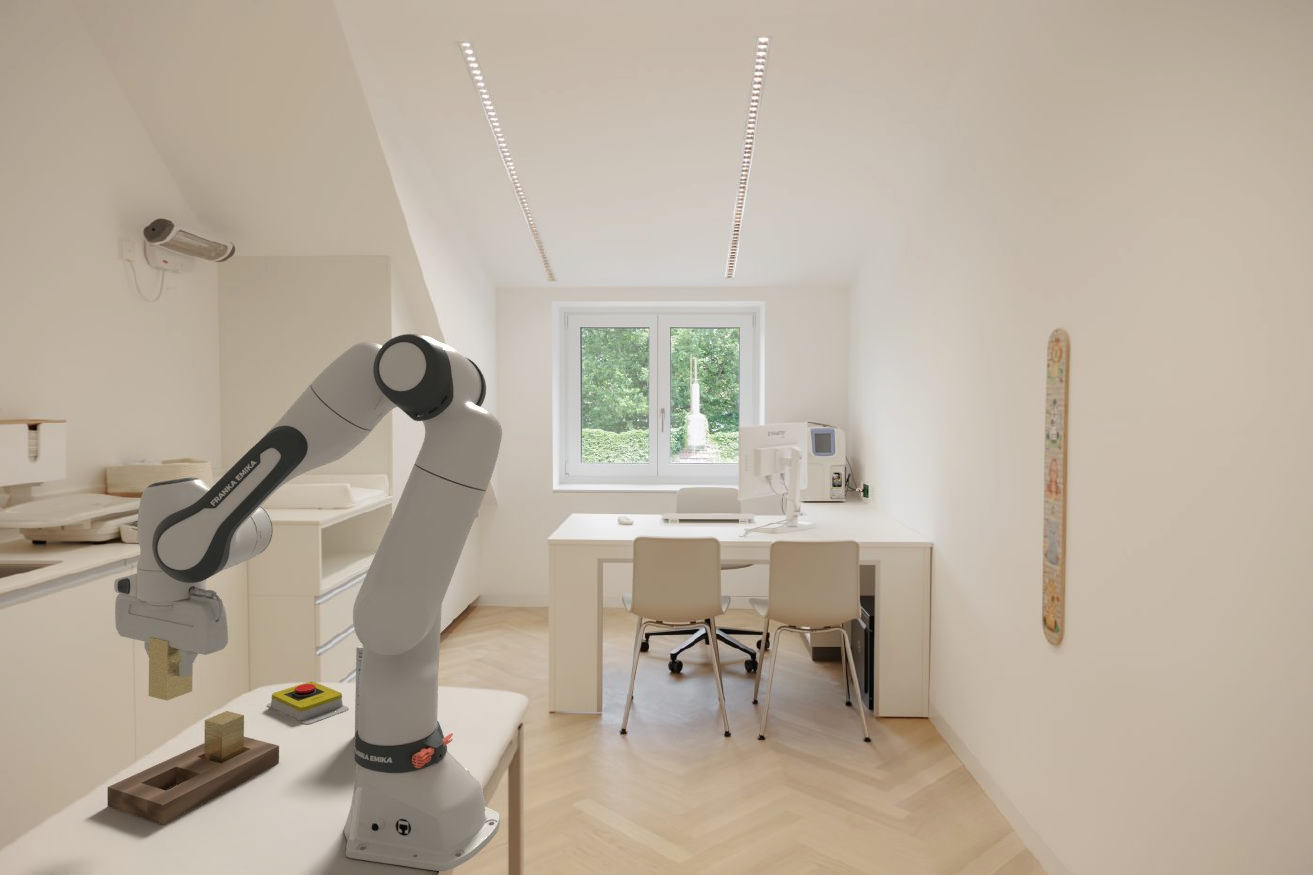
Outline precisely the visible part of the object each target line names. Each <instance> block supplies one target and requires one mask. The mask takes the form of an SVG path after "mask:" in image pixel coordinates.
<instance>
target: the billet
mask: <svg viewBox="0 0 1313 875" xmlns="http://www.w3.org/2000/svg"><path fill="white" fill-rule="evenodd" d="M181 658H182V656H180V655H179V649H176V648H172V647H170V646H169V641H166V640H161V639H156V638H152V637H150V638H149V657H148V697H151V698H154V699H155V698H156V699H158V700H162V701H169V700H172V699H175V698H178V697H181V696H183V695H186V694H189V693H192V692H193V673H194V672H193V670H192V674H191V675H189V676H186V677H180V676H176V675H175V665H177V664H179V663H180V660H181Z"/></svg>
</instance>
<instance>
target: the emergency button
mask: <svg viewBox="0 0 1313 875" xmlns="http://www.w3.org/2000/svg"><path fill="white" fill-rule="evenodd" d="M270 701H271V702H269V703H267V705H266V706H267V708H269V709H271V710H273V711H275V712H278V713H280V714H282V715H284V716H286V717H288V718H290V719H293V720H295V721H296V722H299V723H301V724H303V725H313V724H315V723H317V722H320V721H323V720H326V719H329V718H332V717H334V716H337V715H339V713H340V714H342V713H344V712H343V711H345V712H347V711H349V707H348V706H346V705H344V704H343V694H342V693H341V692H339V691H338V690H335V689H333V688H331V687H328V686H325V685H324V684H323V685H322V684H320V683H318V682H316V681H308V682H304V683H301V684H297V685H294V686H291V687H288V688H285V689H282V690H278V691H276V692H273V693H272V694H271V700H270ZM346 710H347V711H346ZM335 711H336V712H335ZM341 712H342V713H341ZM336 714H337V715H336ZM333 715H334V716H333ZM331 716H332V717H331Z"/></svg>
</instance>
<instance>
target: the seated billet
mask: <svg viewBox="0 0 1313 875" xmlns="http://www.w3.org/2000/svg"><path fill="white" fill-rule="evenodd" d="M244 734H245V714H241V713H237V712H233V711H230V710H229V711H228V710H226V711H223V712H220V713H218V714H216V715H213V716H211V717H209V718H207V719H204V740H203V741H204V742H203V743H204V759H206V760H210V761H214V762H217V763H223V762H225V761H227V760H229V759H231V758H233V757H236V756H238V755H240V754H242V753H244V737H245V735H244Z"/></svg>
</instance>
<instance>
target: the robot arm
mask: <svg viewBox="0 0 1313 875" xmlns="http://www.w3.org/2000/svg"><path fill="white" fill-rule="evenodd" d="M486 394H487V384H486V379H485V376H484V374H483V372H482V371H481V369H480V367H479V366H478V365H477V364H476V363H475V362H474V361H473V360H471V359H470V358H469V357H466V356H464V355H463V354H461V353H460V352H459V351H458V350H457V349H456V348H454V347H452V346H451V345H449V344H446V343H443V342H441V341H438V340H436V339H435V338H432V337H431V336H428V335H423V334H417V333H406V334H400V335H397V336H395V337H393V338H391V339H389V340H388V341H386V342H385V343H384V344H383V345H382V344H379V343H377V342H372V341H361V342H357V343H356V344H354V345H352V346H351V347H349V349H347V350H345V351H344V352H343V353H342V354H340V355H339V356H338V357H336V358H335V359H334V360H333V361H332V362H330V364H329V365H327V367H326V368H324V369H323V370H322V371H321V372H320V373H319V374H318V375H317V376H316V378H314V380H313V381H312V382H311V383H310V384H309V385H308V387H306V389H305V390H304V391H303V392H302V393H301V395H299V397H298V398H297V399H296V400H295V401H294V403H293V404H292V405H291V406H290V407H289V409H288V410H287V411H285V413H284V414H283V416H281V418H280V419H279V420H278V421H277V422H276V423H274V425H273V426H272V427H271V428H270V429H269V430H268V431H267V432H266V433H265V434H264V435H263V437H262V438H261V439H259V441H258V442H257V443H256V444H255V445H253V446H252V447H251V448H250V449H249V450H248V451H247V452H246V453H245V454H244V455H243V456H242V457H241V458H240V459H239V460H238V461H236V463H235V464H234V465H233V466H232V467H231V468H230V469H229V470H228V471H227V472H226V473H225V474H224V475H223V476H221V478H220V479H219V480H218V481H217V482H216V483H214V485H213V486H211V487H210V486H209V485H208V484H207V483H206V482H205V481H204V480H203V479H201V478H199V477H184V478H177V479H172V480H164V481H158V482H153V483H151V484H149V485H148V486H146V487H145V488H144V490H143V492H142V494H141V497H140V501H139V506H138V511H137V512H138V513H137V529H136V531H137V533H136V534H137V535H136V537H137V538H136V539H137V542H138V544H139V547H140V549H139V550H140V553H139V558H138V561H137V564H136V573H133V574H130V575H127V576H123V577H118V578H116V579H114V582H113V583H114V584H113V587H114V589H113V590H114V592H115V593H117V596H116V597H115V602H114V603H115V604H114V605H115V606H114V608H115V609H114V610H115V611H114V615H115V616H114V618H115V620H114V621H115V629H116V631H117V633H118V635H119V636H120V637H122V638H127V639H133V640H136V641H141V642H144V645H143V646H144V647H143V648H144V650H145V652H146V654H147V656H148V658H149V638H150V637H152V638H156V639H161V640H166V641H169V646H170V647H172V648H176V649H179V655H180V656H182V658H181V660H180V663H179V664H177V665H175V675H176V676H180V677H186V676H189V675H191V674H192V670H193V669H194V667H193V664H194V662H195V660H196V658H197V656H199V654H200V655H205V656H206V655H210V654H214V653H217V652H219V651H223V650H224V649H225V648H226V646H227V645H228V643H229V625H228V617H227V611H226V607H225V605H224V602H223V599H222V598H221V597H220V596H219V595H218V594H217V592H216V591H214V590H213V589H207V579H209V578H212V577H213V576H215V575H217V574H219V573H221V572H222V571H225V570H228V569H229V568H230V569H231V568H232V567H235V566H238V565H239V564H242V563H245V562H246V561H249V560H251V559H253V558H255V557H257V556H259V555H260V554H262V553H263V552H264V551H266V549H267V548H268V547H269V545H270V543H271V541H272V537H273V529H274V528H273V523H272V519H271V517H270V515H269V514H268V512H267V511H266V510H265V509H264V508H263V507H262V505H263V504H264V503H266V501H267V500H268V499H269V498H270V497H271V496H272V495H273V494H274V493H275V492H276V491H277V490H278V489H280V488H282V487H283V485H285V484H286V483H288V482H290V481H292V480H293V479H294V478H296V477H298V476H301V475H303V474H305V473H307V472H310V471H312V470H315V469H317V468H320V467H322V466H325V465H329V464H330V463H333V462H336V461H338V460H340V459H342V458H343V457H344V456H346V455H347V454H348V453H350V452H351V451H353V450H354V449H355V448H356V447H357V446H359V445H360V444H361V443H362V442H363V441H364V440H365V439H366V438H367V437H368V436H369V435H370V433H372V431H373V430H374V429H375V428H376V427H377V426H378V424H379V423H380V422H382V419H383V418H384V417H385V416H387V414H388V413H390V412H391V411H392V410H393V409H395V408H398V409H400V410H401V411H402V412H404V413H405V415H407V417H409V418H410V419H411V420H413V421H415V422H422V423H423V425H424V426H423V427H424V430H425V431H424V439H423V442H422V445H421V447H420V450H419V451H418V455H417V457H416V459H415V462H414V464H413V466H412V469H411V472H410V473H409V476H408V478H407V481H406V483H405V485H404V488H403V490H402V493H401V496H400V498H399V500H398V503H397V504H396V508H395V510H394V512H393V514H392V517H391V519H390V521H389V523H388V525H387V528H386V529H385V532H384V533H383V536H382V539H381V541H380V543H379V545H378V547H377V550H376V552H375V554H374V556H373V559H372V560H371V563H370V566H369V568H368V570H367V572H366V575H365V577H364V580H363V581H362V582H361V583H362V584H361V586H360V588H359V590H358V592H357V596H356V597H355V601H354V602H353V610H352V621H353V628H354V632H355V635H356V637H357V638H358V641H360V642H359V643H361V644H362V645H363V653H362V662H361V670H360V676H359V711H358V730H357V731H356V733H355V732H354V745H353V752H354V758H353V759H354V761H355V762H356V768H355V769H356V770H355V779H354V785H353V786H354V787H353V792H352V799H351V804H350V809H349V812H348V815H347V818H346V822H345V825H344V830H343V832H344V836H345V838H346V841H347V843H346V846H345V856H346V857H347V858H349V859H354V860H355V859H356V860H363V861H366V862H367V861H369V862H374V863H381V864H389V865H395V866H403V867H408V868H415V869H421V870H422V869H423V870H430V871H434V872H435V871H437V872H446V871H449V870H451V869H453V868H457V867H458V866H461V865H462V864H464V863H466V862H467V861H469V860H471V858H474V857H475V856H476V855H477V854H478V853H479V852H481V851H482V850H483V849H484V848H485V847H486V846H487V845H488V844H489V843H490V842H491V841H492V839H493V838H494V837H495V835H496V834H497V833H498V831H499V828H500V825H501V815H500V814H501V813H500V812H499V811H496V810H494V809H492V808H489V807H488V806H486V805H485V797H484V796H485V795H484V791H483V787H482V785H481V783H480V781H479V780H478V779H477V778H476V777H474V775H473V774H471V773H470V770H469V769H468V768H466V767H465V766H463V765H462V764H461V763H460V762H459V761H458V760H457V758H455V757H454V756H453V755H452V754H451V753H450V752H449V751H448V745H449V743H451V742H452V741H453V740H454V738H452V737H453V733H452V732H451V733H449V734H448V735H446V736H444V733H443V729H442V727H441V724H440V722H439V721H438V707H439V705H438V702H439V700H438V699H439V698H438V697H439V667H440V650H441V649H440V648H441V632H442V631H441V630H442V628H441V625H442V608H443V607H442V604H443V602H444V600H445V596H446V594H447V592H448V589H449V586H450V584H451V581H452V578H453V576H454V573H455V570H456V568H457V565H458V563H459V559H460V557H461V555H462V552H463V549H464V547H465V544H466V541H467V539H468V536H469V534H470V532H471V529H472V527H473V524H474V522H475V519H476V518H477V514H478V512H479V509H480V506H481V505H482V502H483V500H484V497H485V494H486V492H487V490H488V487H489V485H490V482H491V480H492V477H493V473H494V471H495V466H496V464H497V461H498V460H497V459H498V457H499V456H498V455H499V454H500V448H501V443H502V439H503V438H502V437H503V429H502V425H501V424H500V421H499V420H498V419H497V418H496V416H494V414H492V412H490V411H489V410H487V409H485V408H483V407H482V405H483V403H484V401H485V400H486V399H485V398H486ZM192 675H193V674H192Z"/></svg>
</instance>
